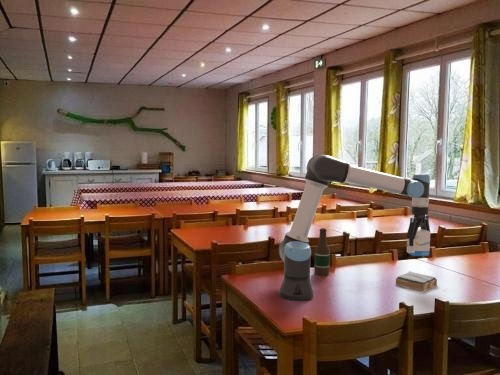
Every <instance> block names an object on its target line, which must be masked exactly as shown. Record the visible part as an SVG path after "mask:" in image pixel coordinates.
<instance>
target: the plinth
mask: <svg viewBox="0 0 500 375" xmlns="http://www.w3.org/2000/svg"><path fill="white" fill-rule="evenodd" d="M437 284H438V279H437V278H436V277H434V276H431V275H426V274H421V273H418V272H413V271H409V272H406V273H404V274H401V275H398V276H397V277H395V286H399V287H404V288H407V289H412V290H414V291H415V290H416V291H420V292H422V291H423V292H425V291H428V290H429V289H432V288H434V287H436V286H437Z"/></svg>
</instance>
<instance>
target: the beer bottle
mask: <svg viewBox="0 0 500 375" xmlns="http://www.w3.org/2000/svg"><path fill="white" fill-rule="evenodd" d="M327 232H328V230H327V228H320V229H319V236H318V237H319V239H318V244H317V245H316V247H315V250H314V268H313V269H314V270H313V271H314V275H316V276H320V277H326V276H329V275H330V265H331V263H330V262H331V261H330V260H331V252H330V247H329V245H328V243H327Z"/></svg>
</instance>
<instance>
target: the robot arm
mask: <svg viewBox="0 0 500 375" xmlns="http://www.w3.org/2000/svg"><path fill="white" fill-rule="evenodd" d="M430 177H431V176H430V175H429V174H428V173H414V174H412V177H401V176H397V175H393V174H389V173H385V172H381V171H377V170H372V169H367V168H364V167H359V166H355V165H352V164H350V162H348V161H344V160H341V159H338V158H336V157H333V156H331V155H328V154H327V155H326V154H315V155H313V156H312V157H310V158H309V160H308V162H307V164H306V173H305V175H304V181H305V187H304V189H303V192H302V194H301V198H300V201H299V204H298V206H297V209H296V213H295V216H294V218H293V220H292V221H293V222H292V223H291V224H292V225H291V227H290V230H289V231H287V232H286V233H285V234H284V237H283V239H282V241H281V242H280V244H279V246H278V254H279V257H280V259H281V260H282V261H283V280H282V283H281V285H280V289H279V296H280V297H281V298H282V299H285V300H287V301H295V302H303V301H308V300H309V301H310V300H311V299H313V298H314V293H315V292H314V289H313V285H312V281H311V256H312V249H311V246H310V245H309V242H310V240H309V239H308V235H309V233H310V230H311V227H312V224H313V222H314V218H315V216H316V212H317V209H318V207H319V204H320V201H321V198H322V195H323V192H324V190H325V189H327V188H328V187H329V185H330V183H333V182H334V183H338V184H339V183H340V184H345V183H350V184H352V185H353V184H354V185H358V186H363V187H367V188H372V189H377V190H379V191H385V192H388V193H390V194H393V195H396V194H398V195H402V196H405V197H410V198H412V199H411V205H412V206H411V214H413V217H410V219H409V225H408V229H407V234H406V238H407V239H409V252H411V253H415V236H416V233H417V230H418V229H424V230H427V231H429V232H430V233H431V229H430V228H431V227H430V220H429V218H430V217H429V215H428V214H429V207H428V206H429V204H430V186H431V182H430V180H431V178H430Z"/></svg>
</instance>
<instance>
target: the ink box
mask: <svg viewBox="0 0 500 375" xmlns="http://www.w3.org/2000/svg"><path fill="white" fill-rule="evenodd" d="M430 249H431V231H430V232H429V231H427V230H424V229H421V228H418V230H417V233H416V236H415V253H411V252H409V239H407V240H406V253H408V254H409V255H410V256H412V257H430V253H431V252H430Z"/></svg>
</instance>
